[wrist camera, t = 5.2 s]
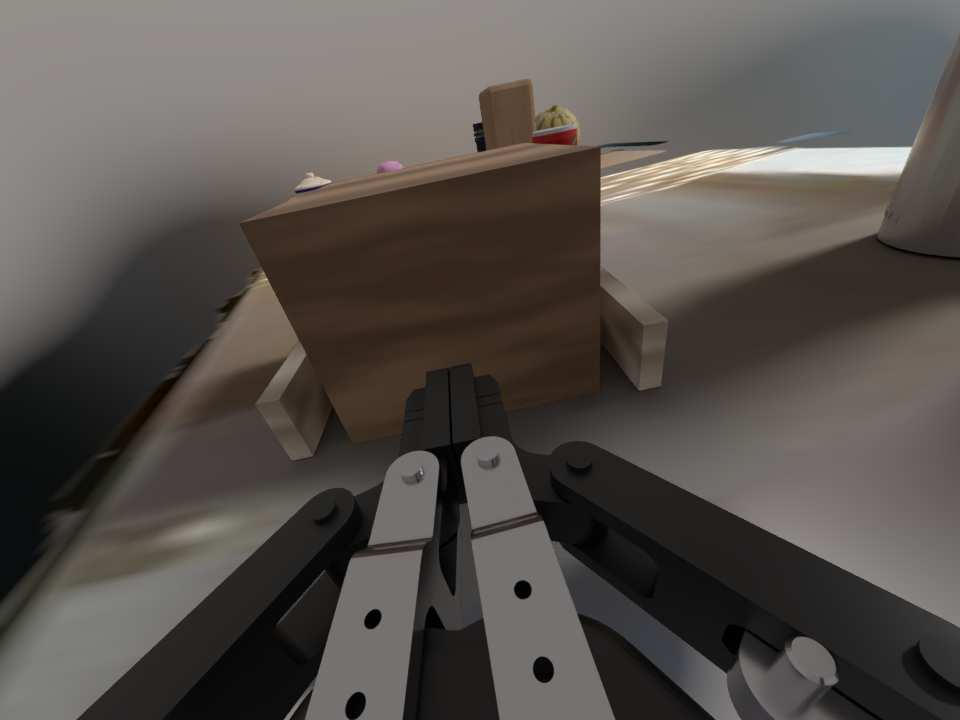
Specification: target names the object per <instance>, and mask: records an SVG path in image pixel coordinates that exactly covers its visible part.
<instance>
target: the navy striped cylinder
mask: <svg viewBox="0 0 960 720" xmlns="http://www.w3.org/2000/svg"><path fill="white" fill-rule="evenodd" d="M473 127H474V132H476V133H474V136H476V137H477V138H475V142H476V144H477V151H478V152H482V151H487V150H486V143H485V136H484V130H483V123H482V122H481V123H477V124H473Z"/></svg>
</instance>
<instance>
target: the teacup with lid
mask: <svg viewBox="0 0 960 720" xmlns="http://www.w3.org/2000/svg"><path fill="white" fill-rule="evenodd" d="M305 177H306V178H307V179H304V180H303V181H302V182H301V184H300V185H299V186H297V187H296V188H295V192H296V193H297V195H298V197H300V196H303V195H305V194H307V193H309V192H312V191H314V190H316V189H319V188H321V187H323V186H326V185H328V184H331V183H332V182H331V181H330V180H325V179H322V178H320V177H314V174H313V173H307V174H305ZM298 197H294V198H292V199H290V200H289V201H291V200H293V199H296V198H298Z"/></svg>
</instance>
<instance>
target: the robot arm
mask: <svg viewBox="0 0 960 720" xmlns="http://www.w3.org/2000/svg"><path fill="white" fill-rule="evenodd" d="M884 216H885V217H884V219H883V222H882V225H881V227H880V230H879V232H878V235H877V237H878V238H879V240H881V241H882V242H884V243H885V244H888V245H890V246H893V247H896V248H900V249H904V250H908V251H913V252H918V253H924V254H931V255H939V256H948V257H960V30H959V33H958V35H957V38H956V40H955V43H954V45H953V48H952V50H951V53H950V55H949V58H948V60H947V63H946V65H945V67H944V70H943V72H942V75H941V77H940V80H939V82H938V85H937V87H936V90H935V92H934V95H933V97H932V100H931V102H930V105H929V107H928V110H927V112H926V115H925V117H924V120H923V122H922V125H921V127H920V129H919V132H918V135H917V137H916V139H915V142H914V145H913V147H912V149H911V152H910V154H909V157H908V159H907V162H906V164H905V167H904V169H903V172H902V174H901V177H900V179H899V182H898V184H897V187H896V189H895V192H894V194H893V197H892V199H891V202H890V204H889V206H888V207H887V209H886V212H885V215H884ZM463 503H468V507H469V513H470V519H471V525H472V533H471V542H472V549H473V555H474V561H475V567H476V574H477V580H478V586H479V593H480V599H481V605H482V611H483V619H481V620H479V621H477V622H475V623H473V624H471V625H469V626H467V627H465V628H463V620H462V615H461V607H460V580H461V536H462V531H461V525H460V512H459V504H463ZM551 541H557V542H560V544H561V545H562V547H563V548H564V549H565V550H566V551H568V552H569V553H570V554H571V555H573V556H574V557H575V558H577V559H578V560H579V561H581V562H582V563H583V564H584V565H586V566H587V567H588V568H590V569H591V570H592V571H594V572H595V573H596V574H598V575H599V576H600V577H602V578H603V579H604V580H606V581H607V582H608V583H609V584H611V585H612V586H613V587H615V588H616V589H617V590H619V591H620V592H621V593H622V594H624V595H625V596H626V597H628V598H629V599H630V600H631V601H633V602H634V603H635V604H637V605H638V606H639V607H641V608H642V609H643V610H645V611H646V612H647V613H648V614H650V615H651V616H652V617H654V618H655V619H657V620H658V621H659V622H660V623H661V624H663V625H664V626H665V627H667V628H668V629H669V630H671V631H672V632H673V633H675V634H676V635H677V636H678V637H680V638H681V639H682V640H684V641H685V642H686V643H688V644H689V645H690V646H692V647H693V648H694V649H695V650H697V651H698V652H699V653H701V654H702V655H703V656H705V657H706V658H707V659H709V660H710V661H711V662H712V663H714V664H715V665H716V666H718V667H719V668H720V669H722V670H723V671H724V672H725V673H727V685H728V691H729V695H730V698H731V700H732V703H733V705H734V707H735V709H736V711H737V713H738V715H739V716H740V718H741V719H742V720H960V628H959V627H957V626H955V625H954V624H952V623H950V622H948V621H946V620H944V619H942V618H940V617H938V616H936V615H934V614H932V613H930V612H928V611H926V610H924V609H922V608H920V607H918V606H916V605H914V604H912V603H910V602H908V601H906V600H904V599H902V598H900V597H898V596H896V595H894V594H892V593H890V592H888V591H886V590H884V589H882V588H880V587H878V586H876V585H874V584H872V583H870V582H868V581H866V580H864V579H862V578H860V577H858V576H856V575H854V574H852V573H850V572H848V571H846V570H844V569H842V568H840V567H838V566H836V565H834V564H832V563H830V562H828V561H826V560H824V559H822V558H819V557H818V556H816V555H814V554H812V553H810V552H808V551H806V550H804V549H802V548H800V547H798V546H796V545H794V544H792V543H790V542H788V541H786V540H784V539H782V538H780V537H778V536H776V535H774V534H772V533H770V532H768V531H766V530H764V529H762V528H760V527H758V526H756V525H754V524H752V523H750V522H748V521H746V520H744V519H742V518H740V517H738V516H736V515H734V514H732V513H730V512H728V511H726V510H724V509H722V508H720V507H718V506H716V505H714V504H712V503H710V502H708V501H706V500H704V499H702V498H700V497H698V496H696V495H694V494H692V493H690V492H688V491H686V490H684V489H682V488H680V487H678V486H676V485H674V484H672V483H670V482H668V481H666V480H664V479H662V478H660V477H658V476H656V475H654V474H652V473H650V472H648V471H646V470H644V469H642V468H640V467H638V466H636V465H634V464H632V463H630V462H628V461H626V460H624V459H622V458H620V457H618V456H616V455H614V454H612V453H610V452H608V451H606V450H604V449H602V448H600V447H598V446H596V445H593V444H591V443H588V442H582V441H574V442H568V443H565V444H562V445H560V446H559V447H557V448H556V449H555V450H554V451H553V452H552V454H551V455H540V454H533V453H529V452H526V451H524V450H522V449H520V448H519V447H518V446H516V444H515V443H514V442H513V440H512V438H511V435H510V431H509V427H508V423H507V419H506V414H505V410H504V406H503V402H502V398H501V394H500V389H499V385H498V382H497V381H496V380H495V379H494V378H493V377H492V376H491V375H490V374H488V375H483V376H478V377H474V373H473V369H472V365H471V363H467V364H462V365H457V366H452V367H450V370H449V368H443V369H438V370H433V371H428V372H426V385H425V387H424V388H419V389H414V390H413V391H412V393H411V394H410V396H409V397H408V399H407V400H406V406H405V414H404V424H403V430H402V438H401V446H400V454H399V458H398V459H397V460H395V461H394V462H393V463H392V464H391V466H390V467H389V469H388V470H387V473H386V476H385V480H384V481H383V482H382V483H381V484H379V485H377V486H376V487H374V488H372V489H370V490H367V491H365V492H363V493H361V494H359V495H357V496H355V497H354V496H353V495H352V493H351V492H350V491H348V490H346V489H343V488H333V489H329V490H326V491H324V492H321V493H320V494H318V495H316V496H315V497H313V498H312V499H311V500H310V501H308V502H307V503H306V504H305V505H304V506H303V507H302V508H301V509H300V510H299V511H298V512H297V513H296V514H295V515H294V516H292V517H291V518H290V519H289V520H288V521H287V522H286V523H285V524H284V525H283V526H282V527H281V528H280V529H279V530H278V531H277V532H275V533H274V534H273V535H272V536H271V537H270V538H269V539H268V540H267V541H266V542H265V543H264V544H263V545H262V546H261V547H259V548H258V549H257V550H256V551H255V552H254V553H253V554H252V555H251V556H250V557H249V558H248V559H247V560H246V561H245V562H244V563H242V564H241V565H240V566H239V567H238V568H237V569H236V570H235V571H234V572H233V573H232V574H231V575H230V576H229V577H228V578H227V579H225V580H224V581H223V582H222V583H221V584H220V585H219V586H218V587H217V588H216V589H215V590H214V591H213V592H212V593H211V594H210V595H208V596H207V597H206V598H205V599H204V600H203V601H202V602H201V603H200V604H199V605H198V606H197V607H196V608H195V609H194V610H193V611H191V612H190V613H189V614H188V615H187V616H186V617H185V618H184V619H183V620H182V621H181V622H180V623H179V624H178V625H177V626H176V627H174V628H173V629H172V630H171V631H170V632H169V633H168V634H167V635H166V636H165V637H164V638H163V639H162V640H161V641H160V642H159V643H157V644H156V645H155V646H154V647H153V648H152V649H151V650H150V651H149V652H148V653H147V654H146V655H145V656H144V657H143V658H142V659H140V660H139V661H138V662H137V663H136V664H135V665H134V666H133V667H132V668H131V669H130V670H129V671H128V672H127V673H126V674H124V675H123V676H122V677H121V678H120V679H119V680H118V681H117V682H116V683H115V684H114V685H113V686H112V687H111V688H110V689H109V690H107V691H106V692H105V693H104V694H103V695H102V696H101V697H100V698H99V699H98V700H97V701H96V702H95V703H94V704H93V705H92V706H90V707H89V708H88V709H87V710H86V711H85V712H84V713H83V714H82V715H81V716H80V717H79V718H78V719H77V720H284V718H285V717H286V716H287V714H288V713H289V712H290V710H291V709H292V708H293V706H294V705H295V704H296V702H297V701H298V700H299V698H300V697H301V696H302V694H303V693H304V692H305V690H306V689H307V688H308V686H309V685H310V684H311V682H312V681H313V680H314V678H315V677H316V675H317V674H318V675H317V679H316V682H315V686H314V688H313V689H312V690H311V692H310V693H309V694H308V695H307V696H306V697H305V699H304V700H303V701H302V703H301V704H300V705H299V707H298V708H297V710H296V711H295V712H294V714H293V715H292V717H291V718H290V720H715V719H714V718H713V717H712V716H711V715H710V714H709V713H707V712H706V711H705V710H704V709H703V708H702V707H701V706H700V705H699V704H698V703H696V702H695V701H694V700H693V699H692V698H691V697H690V696H689V695H688V694H686V693H685V692H684V691H683V690H682V689H681V688H680V687H679V686H677V685H676V684H675V683H674V682H673V681H672V680H671V679H670V678H669V677H667V676H666V675H665V674H664V673H663V672H662V671H661V670H660V669H659V668H658V667H656V666H655V665H654V664H653V663H652V662H651V661H650V660H649V659H648V658H646V657H645V656H644V655H643V654H642V653H641V652H640V651H639V650H638V649H637V648H635V647H634V646H633V645H632V644H631V643H630V642H629V641H627V640H626V639H625V638H624V637H622V636H621V635H620V634H618V633H617V632H615V631H614V630H613V629H611V628H610V627H608V626H606V625H604V624H602V623H600V622H599V621H597V620H594V619H592V618H589V617H587V616H584V615H581V614H577V612H576V610H575V607H574V604H573V601H572V599H571V596H570V593H569V590H568V587H567V585H566V582H565V579H564V576H563V573H562V571H561V568H560V565H559V562H558V560H557V557H556V554H555V551H554V549H553V546H552V543H551ZM323 570H325V571H326V572H325V573H324V574H323V575H322V576H321V577H320V579H319V580H318V581H317V582H316V583H315V584H314V585H313V586H312V588H311V589H310V590H309V591H308V592H307V593H306V594H305V596H304V597H303V598H302V599H301V600H300V601H299V602H298V604H297V605H296V606H295V607H294V608H293V609H292V610H291V611H290V613H289V614H288V615H287V616H286V617H285V618H284V619H283V620H282V621H281V622H280V623H279V624H278V625H276V624H277V623H278V621H279V620H280V619H281V618H282V616H283V615H284V614H285V613H286V612H287V611H288V610H289V609H290V607H291V606H292V605H293V604H294V603H295V602H296V601H297V600H298V598H299V597H300V596H301V595H302V594H303V593H304V592H305V591H306V589H307V588H308V587H309V586H310V585H311V584H312V583H313V582H314V580H315V579H316V578H317V577H318V576H319V575H320V574H321V573H322V571H323Z"/></svg>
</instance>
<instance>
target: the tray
mask: <svg viewBox="0 0 960 720" xmlns="http://www.w3.org/2000/svg"><path fill="white" fill-rule="evenodd" d="M668 321H669V320H667V319H666V318H665V317H664V316H662V315H661V314H660V313H659V312H657V311H656V310H655V309H654V308H652V307H651V306H650V305H649V304H647V303H646V302H645V301H644V300H642V299H641V298H640V297H639V296H637V295H636V294H635V293H634V292H632V291H631V290H630V289H629V288H627V287H626V286H625V285H624V284H622V283H621V282H620V281H619V280H617V279H616V278H615V277H613V276H612V275H611V274H610V273H608V272H607V271H606V270H605V269H603V268H602V267H601V266H600V342H601V343H602V345H603V346H604V347H605V348H606V350H607V351H608V352H609V353H610V355H611V356H612V357H613V358H614V360H615V361H616V362H617V364H618V365H619V366H620V367H621V369H622V370H623V371H624V372H625V374H626V375H627V376H628V378H629V379H630V380H631V381H632V383H633V384H634V385H635V386H636V388H637V389H638V390H639V391H641V390H646V389H651V388H656V387H660V386H661V382H662V373H663V364H664V356H665V347H666V338H667V330H668ZM255 406H256V407H257V409H258V410H259V412H260V413H261V415H262V416H263V418H264V419H265V421H266V422H267V424H268V425H269V427H270V428H271V430H272V431H273V433H274V434H275V436H276V437H277V439H278V440H279V442H280V443H281V445H282V446H283V448H284V449H285V451H286V452H287V454H288V455H289V457H290V459H291V460H292V461H293V460H298V459H303V458H308V457H313V456H314V454H315V451H316V449H317V446H318V444H319V441H320V438H321V436H322V433H323V431H324V428H325V426H326V423H327V421H328V418H329V416H330V413H331V411H332V408H333V405H332V403H331V401H330V399H329V397H328V395H327V393H326V391H325V389H324V387H323V385H322V384H321V382H320V380H319V378H318V376H317V374H316V372H315V370H314V368H313V366H312V364H311V362H310V360H309V358H308V356H307V354H306V352H305V350H304V349H303V347H302V345H301V343H300V341H298V343H297V344H296V346H295V347H294V349H293V350H292V352H291V353H290V354H289V356H288V357H287V359H286V360H285V362H284V363H283V365H282V366H281V367H280V369H279V370H278V372H277V373H276V375H275V376H274V378H273V379H272V381H271V382H270V383H269V385H268V386H267V388H266V389H265V391H264V392H263V394H262V395H261V396H260V398H259V399H258V401H257V402H256V404H255Z"/></svg>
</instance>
